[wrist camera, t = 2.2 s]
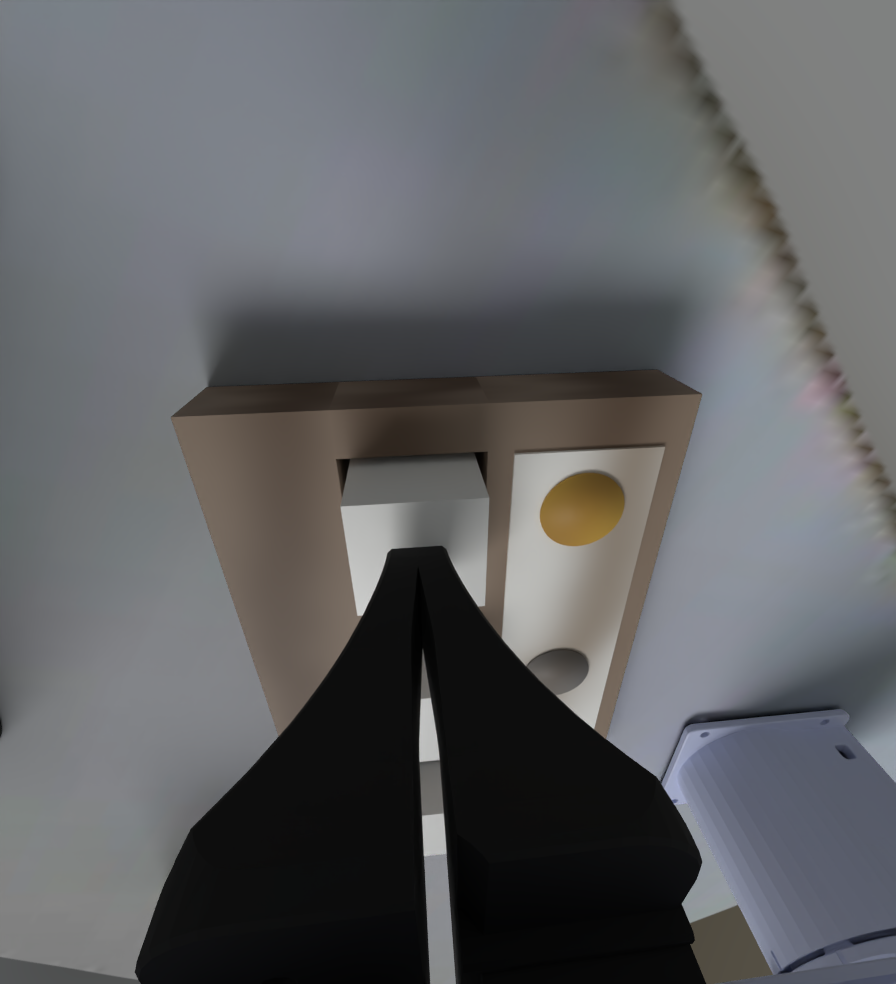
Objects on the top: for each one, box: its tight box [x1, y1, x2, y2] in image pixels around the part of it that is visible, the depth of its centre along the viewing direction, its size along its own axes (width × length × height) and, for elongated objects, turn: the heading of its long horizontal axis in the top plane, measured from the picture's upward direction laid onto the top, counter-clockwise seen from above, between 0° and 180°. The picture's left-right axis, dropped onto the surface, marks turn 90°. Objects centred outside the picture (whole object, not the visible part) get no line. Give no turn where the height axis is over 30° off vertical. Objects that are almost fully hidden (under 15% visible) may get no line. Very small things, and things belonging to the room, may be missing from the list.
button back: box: [420, 760, 447, 856], centre depth 21 cm, size 4×4×3 cm
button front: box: [340, 452, 489, 616], centre depth 13 cm, size 4×4×3 cm
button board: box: [171, 370, 702, 762], centre depth 18 cm, size 14×22×3 cm, turn 1°
